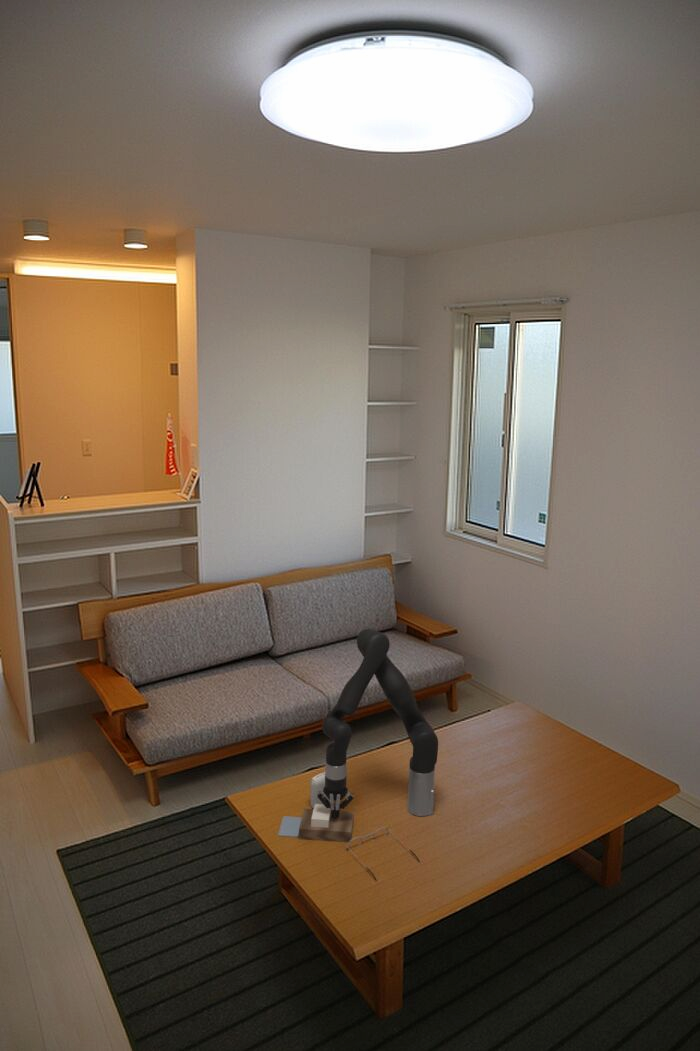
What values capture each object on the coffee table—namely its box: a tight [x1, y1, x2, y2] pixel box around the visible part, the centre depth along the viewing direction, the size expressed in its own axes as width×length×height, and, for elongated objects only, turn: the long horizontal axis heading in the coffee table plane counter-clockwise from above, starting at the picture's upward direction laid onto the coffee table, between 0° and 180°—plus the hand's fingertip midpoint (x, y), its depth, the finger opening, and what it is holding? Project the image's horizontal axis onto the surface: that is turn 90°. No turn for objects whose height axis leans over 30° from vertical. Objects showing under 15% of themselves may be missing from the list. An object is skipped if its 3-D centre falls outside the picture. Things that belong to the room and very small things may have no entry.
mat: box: [277, 815, 302, 838], centre depth 268 cm, size 7×11×1 cm, turn 176°
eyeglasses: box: [345, 826, 421, 882], centre depth 253 cm, size 18×19×4 cm
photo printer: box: [309, 771, 336, 809], centre depth 281 cm, size 10×4×12 cm, turn 123°
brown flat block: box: [298, 808, 355, 843], centre depth 266 cm, size 18×12×4 cm, turn 86°
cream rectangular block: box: [311, 804, 331, 828], centre depth 266 cm, size 6×9×3 cm, turn 174°
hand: (335, 817), depth 265 cm, fingers closed
